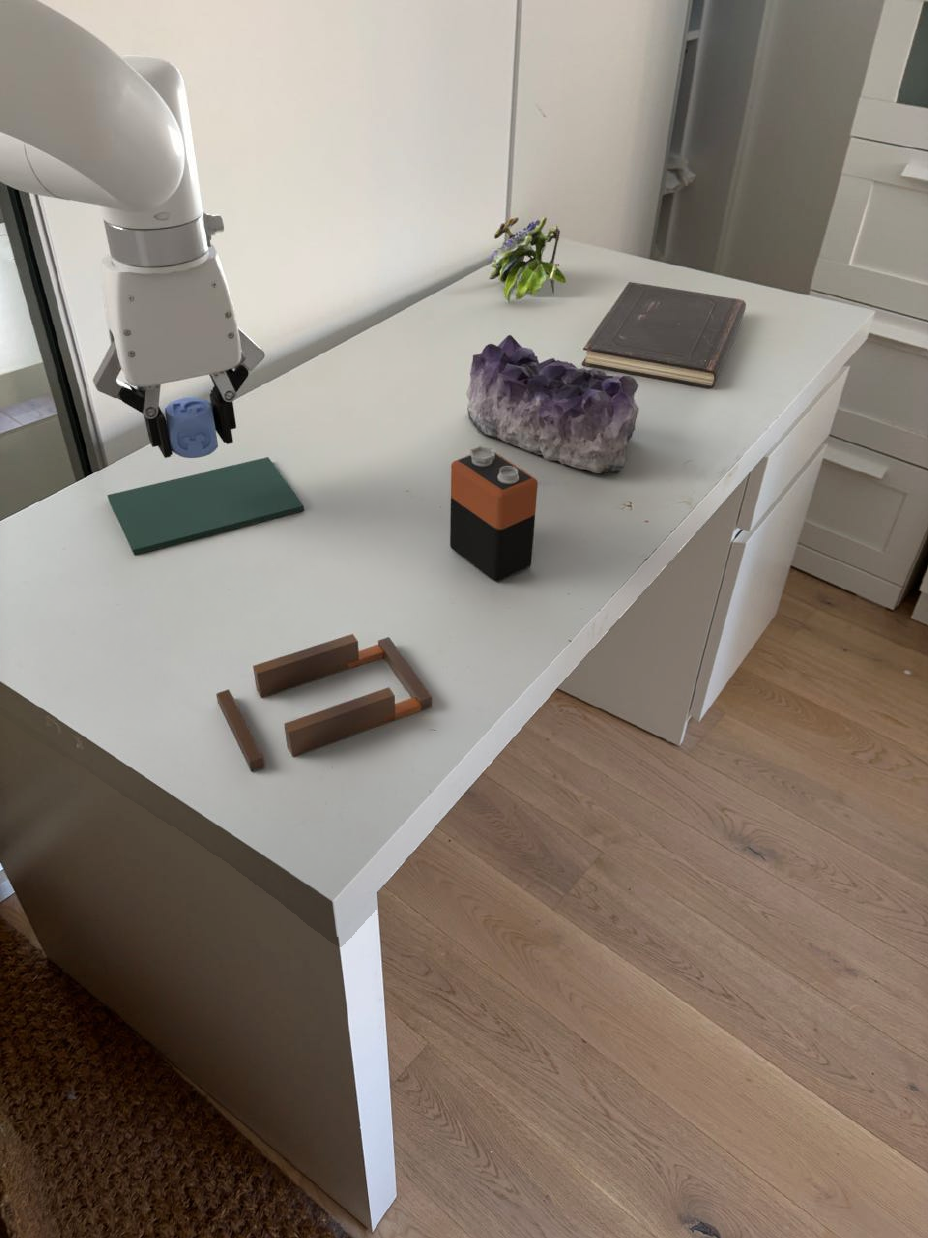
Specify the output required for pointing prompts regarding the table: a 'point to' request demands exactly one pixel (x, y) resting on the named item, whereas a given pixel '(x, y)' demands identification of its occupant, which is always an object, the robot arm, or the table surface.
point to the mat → (203, 504)
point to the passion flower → (512, 257)
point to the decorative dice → (191, 427)
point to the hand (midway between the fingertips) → (194, 441)
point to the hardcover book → (666, 334)
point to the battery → (492, 513)
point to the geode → (552, 407)
